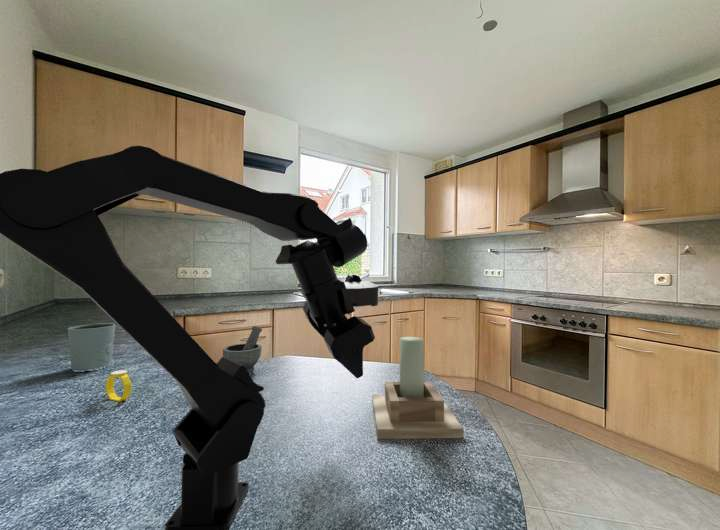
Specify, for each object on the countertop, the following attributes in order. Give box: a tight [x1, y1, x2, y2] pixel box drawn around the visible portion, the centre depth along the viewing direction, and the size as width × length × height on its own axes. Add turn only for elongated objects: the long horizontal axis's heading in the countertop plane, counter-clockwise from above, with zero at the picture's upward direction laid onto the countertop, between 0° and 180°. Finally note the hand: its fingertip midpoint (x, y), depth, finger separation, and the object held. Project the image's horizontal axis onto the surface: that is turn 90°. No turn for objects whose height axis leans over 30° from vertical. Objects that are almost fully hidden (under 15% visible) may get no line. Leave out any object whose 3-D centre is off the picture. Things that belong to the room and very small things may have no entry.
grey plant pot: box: [67, 322, 116, 370], centre depth 85 cm, size 10×10×12 cm
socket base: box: [371, 381, 464, 440], centre depth 55 cm, size 14×14×5 cm
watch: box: [105, 369, 132, 403], centre depth 63 cm, size 6×3×6 cm, turn 71°
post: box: [399, 336, 425, 397], centre depth 55 cm, size 4×4×13 cm
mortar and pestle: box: [222, 325, 263, 375], centre depth 81 cm, size 11×9×12 cm
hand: (349, 362), depth 50 cm, fingers open, 9 cm apart
